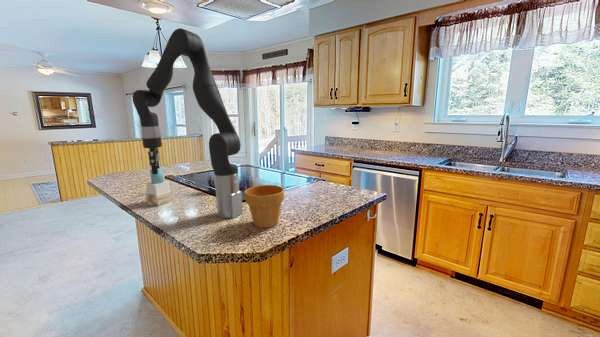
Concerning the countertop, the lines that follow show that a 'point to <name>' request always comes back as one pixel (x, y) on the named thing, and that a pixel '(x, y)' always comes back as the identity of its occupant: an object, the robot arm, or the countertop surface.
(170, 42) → the robot arm
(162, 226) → the countertop surface
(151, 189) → the white top block
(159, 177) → the teal cylinder
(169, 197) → the oak base block
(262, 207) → the flower pot
